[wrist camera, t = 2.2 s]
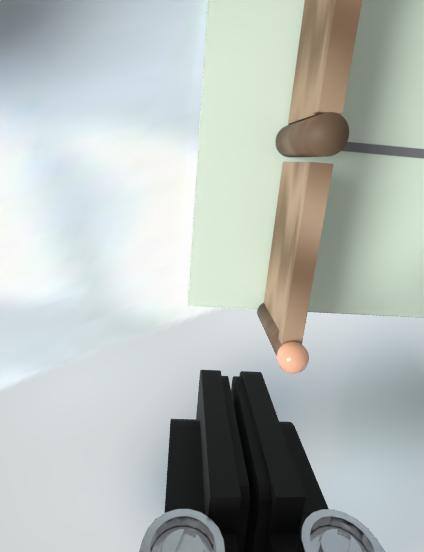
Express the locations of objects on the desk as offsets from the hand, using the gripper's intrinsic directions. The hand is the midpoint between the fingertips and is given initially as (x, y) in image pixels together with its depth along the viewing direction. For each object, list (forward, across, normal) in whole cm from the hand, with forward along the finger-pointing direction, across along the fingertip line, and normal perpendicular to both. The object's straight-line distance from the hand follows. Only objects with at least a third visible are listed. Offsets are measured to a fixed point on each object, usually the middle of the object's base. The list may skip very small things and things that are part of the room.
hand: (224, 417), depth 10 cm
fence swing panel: (+16, -5, -2) cm, 17 cm away
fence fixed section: (+16, -5, -13) cm, 22 cm away
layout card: (+17, -9, -8) cm, 21 cm away
